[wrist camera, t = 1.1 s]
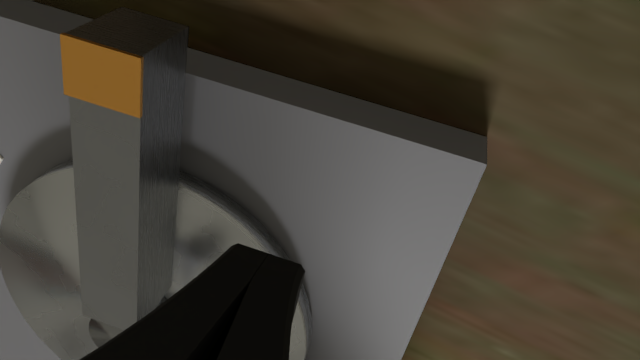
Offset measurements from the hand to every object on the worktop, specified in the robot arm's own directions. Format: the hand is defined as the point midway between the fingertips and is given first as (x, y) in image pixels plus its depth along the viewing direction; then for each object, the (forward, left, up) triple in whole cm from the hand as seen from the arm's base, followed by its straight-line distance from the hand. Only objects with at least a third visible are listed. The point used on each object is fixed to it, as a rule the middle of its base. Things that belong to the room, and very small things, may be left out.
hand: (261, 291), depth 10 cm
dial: (-7, +6, -7) cm, 12 cm away
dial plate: (-10, +6, -9) cm, 15 cm away
